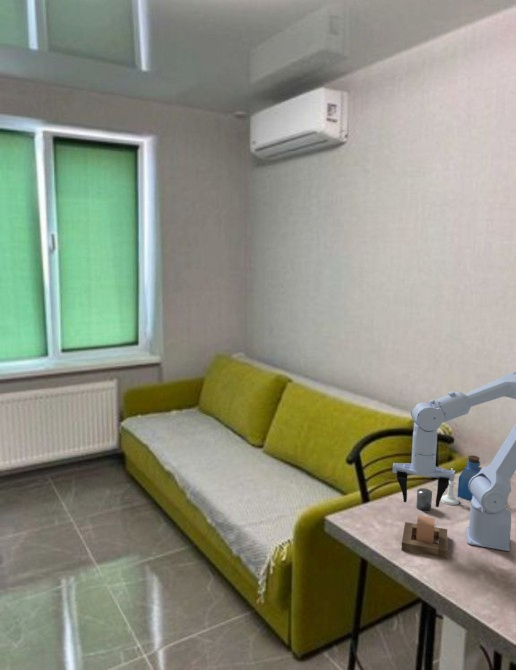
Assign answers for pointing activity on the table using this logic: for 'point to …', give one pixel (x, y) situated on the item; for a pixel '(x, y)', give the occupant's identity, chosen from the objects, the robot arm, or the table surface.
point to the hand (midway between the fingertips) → (421, 502)
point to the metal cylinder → (424, 499)
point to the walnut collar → (424, 547)
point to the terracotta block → (425, 529)
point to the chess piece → (450, 495)
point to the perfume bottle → (468, 477)
